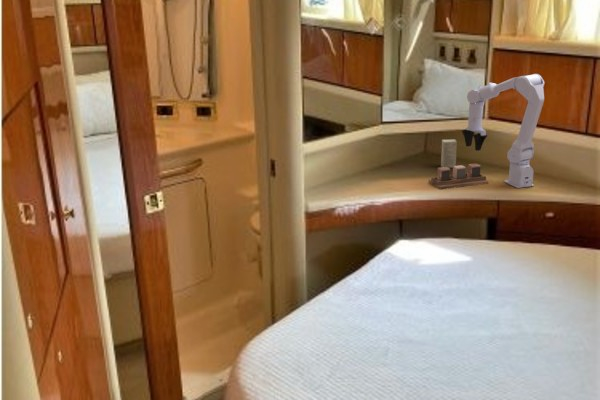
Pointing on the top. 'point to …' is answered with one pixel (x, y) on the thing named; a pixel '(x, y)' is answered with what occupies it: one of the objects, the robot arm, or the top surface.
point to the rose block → (459, 172)
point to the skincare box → (448, 153)
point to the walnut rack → (447, 181)
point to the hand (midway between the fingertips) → (473, 148)
